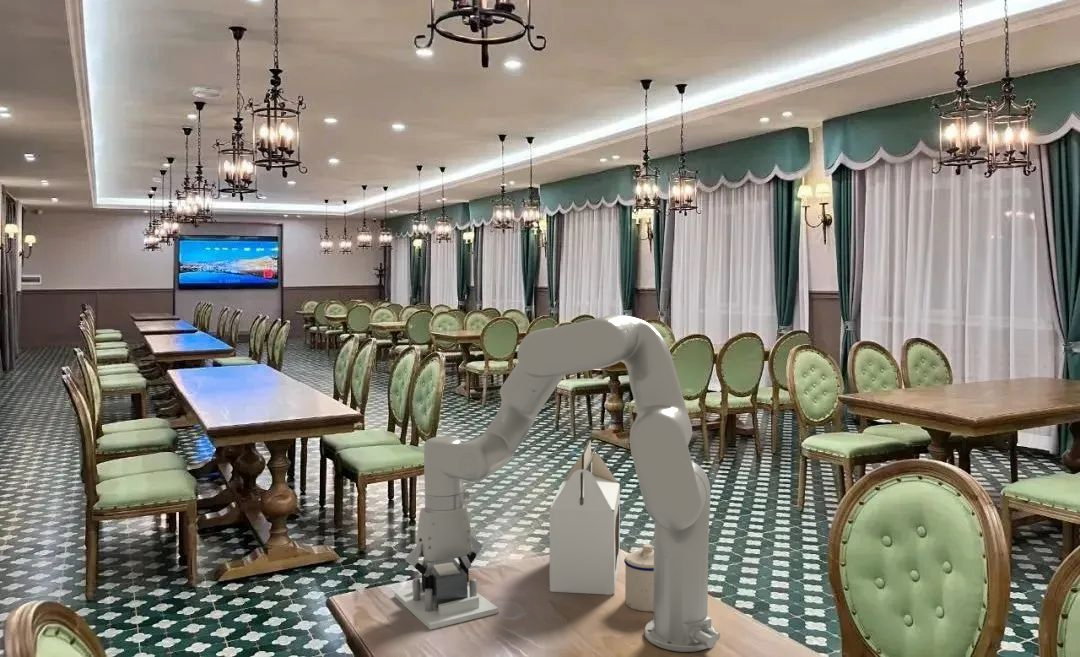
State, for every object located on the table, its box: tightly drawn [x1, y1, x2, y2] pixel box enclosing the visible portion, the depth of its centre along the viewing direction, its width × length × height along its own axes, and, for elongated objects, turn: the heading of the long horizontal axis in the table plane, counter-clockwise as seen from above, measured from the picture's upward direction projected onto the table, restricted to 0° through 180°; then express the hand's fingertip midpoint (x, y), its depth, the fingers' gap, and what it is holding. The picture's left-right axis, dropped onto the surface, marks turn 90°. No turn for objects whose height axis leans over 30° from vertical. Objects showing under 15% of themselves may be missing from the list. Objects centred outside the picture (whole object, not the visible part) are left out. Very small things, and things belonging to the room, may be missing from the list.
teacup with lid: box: [623, 543, 654, 613], centre depth 159 cm, size 12×9×12 cm
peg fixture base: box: [394, 577, 499, 631], centre depth 157 cm, size 18×14×5 cm
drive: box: [431, 558, 468, 608], centre depth 157 cm, size 10×6×6 cm, turn 21°
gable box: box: [548, 439, 621, 596], centre depth 173 cm, size 22×13×28 cm, turn 171°
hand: (445, 589), depth 157 cm, fingers closed on drive, 6 cm apart
